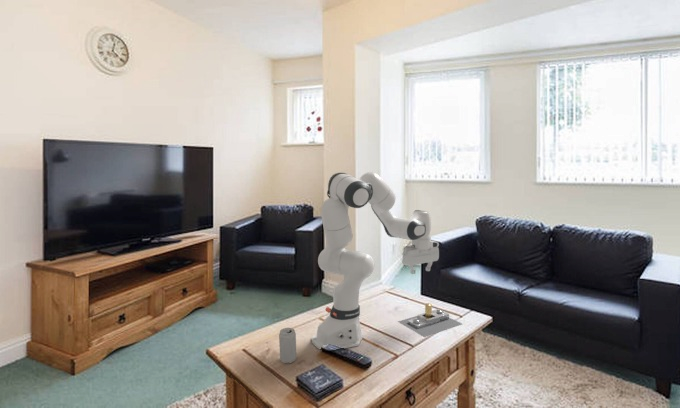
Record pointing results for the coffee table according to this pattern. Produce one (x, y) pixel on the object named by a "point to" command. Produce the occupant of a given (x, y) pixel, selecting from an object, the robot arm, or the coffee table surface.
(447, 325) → the gray base plate
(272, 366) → the coffee table surface
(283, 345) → the beverage can
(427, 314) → the brass pin
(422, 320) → the slotted latch plate
